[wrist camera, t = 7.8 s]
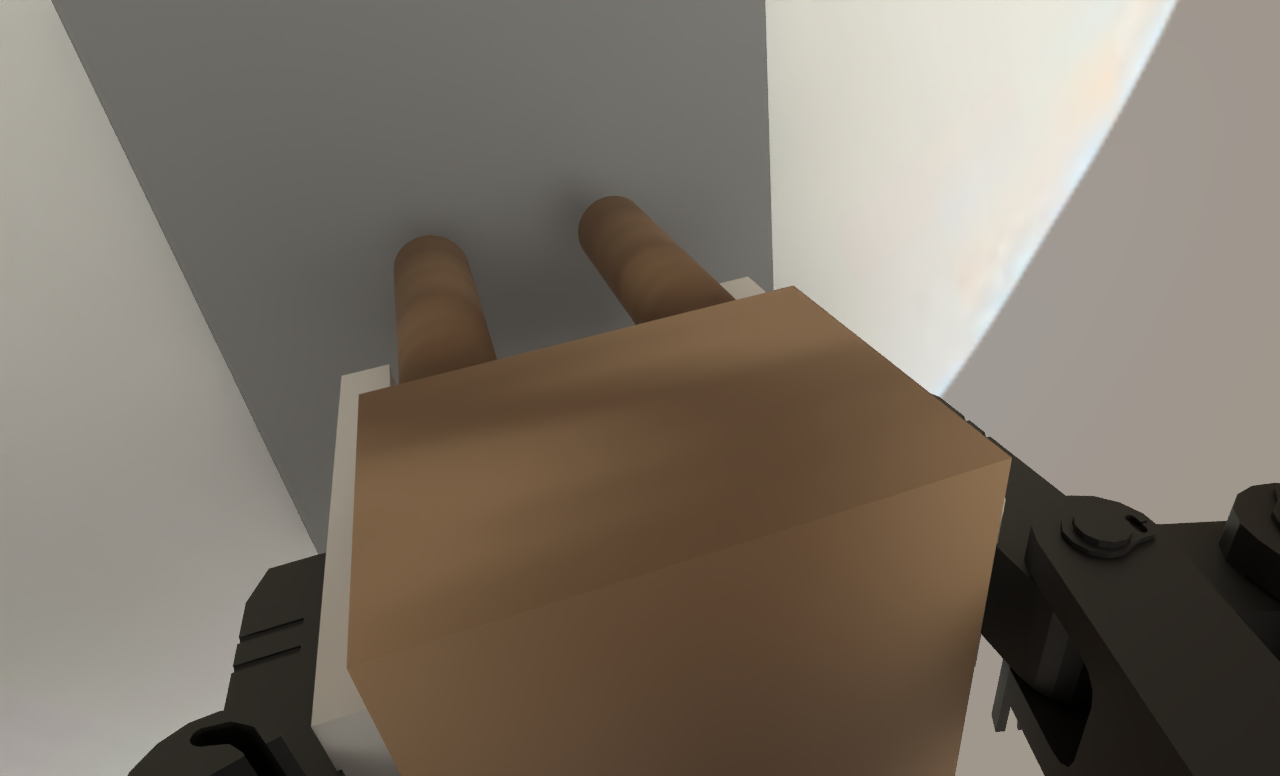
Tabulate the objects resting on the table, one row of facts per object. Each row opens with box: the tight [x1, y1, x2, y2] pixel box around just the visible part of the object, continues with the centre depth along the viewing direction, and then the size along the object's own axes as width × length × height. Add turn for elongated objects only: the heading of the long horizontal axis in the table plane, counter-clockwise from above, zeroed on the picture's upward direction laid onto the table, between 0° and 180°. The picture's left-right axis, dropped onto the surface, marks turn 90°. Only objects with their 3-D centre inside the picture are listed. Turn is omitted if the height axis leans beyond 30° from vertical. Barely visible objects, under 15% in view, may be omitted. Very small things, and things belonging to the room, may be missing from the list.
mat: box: [51, 0, 773, 554], centre depth 19 cm, size 14×14×1 cm
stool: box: [347, 196, 1012, 776], centre depth 11 cm, size 6×6×10 cm
